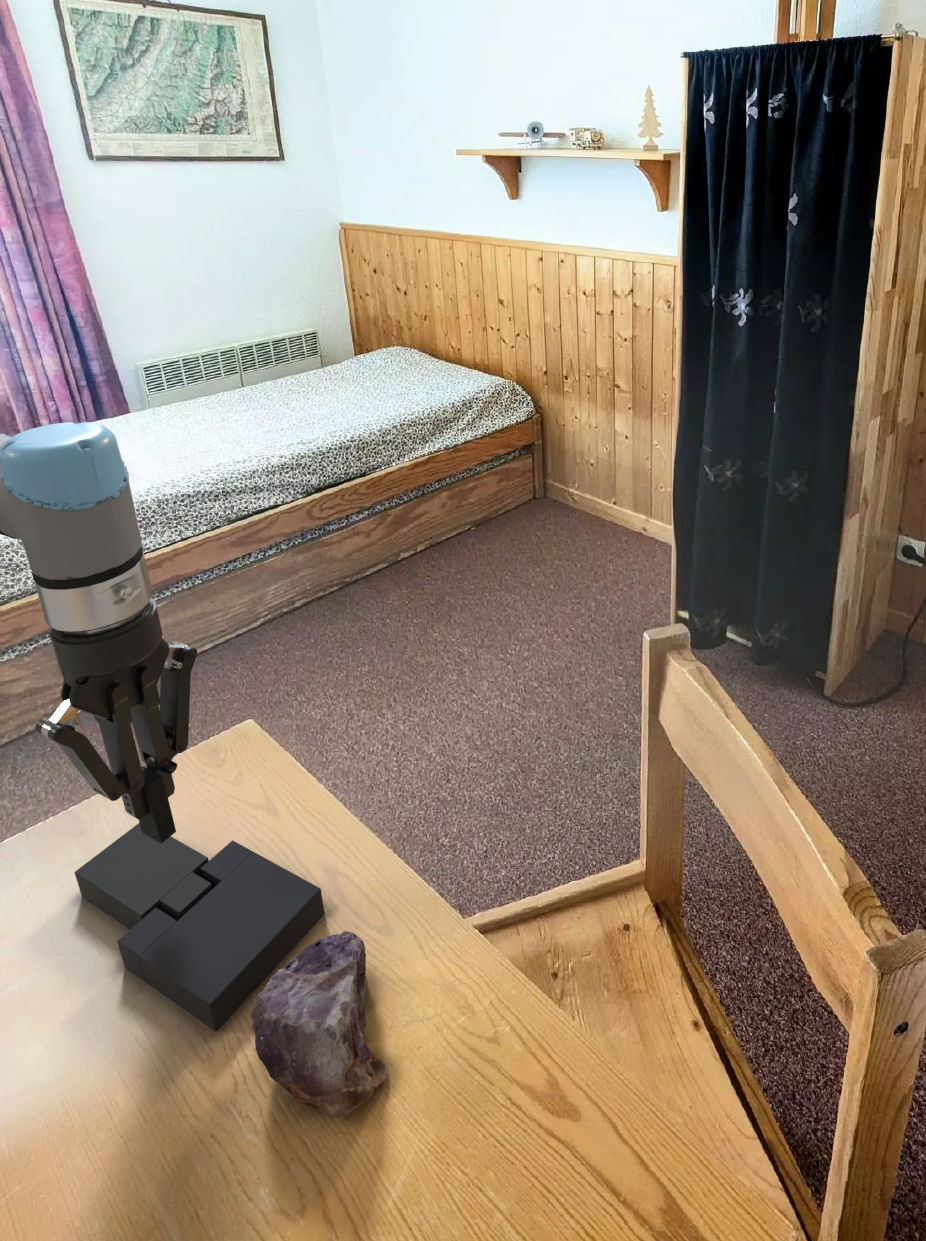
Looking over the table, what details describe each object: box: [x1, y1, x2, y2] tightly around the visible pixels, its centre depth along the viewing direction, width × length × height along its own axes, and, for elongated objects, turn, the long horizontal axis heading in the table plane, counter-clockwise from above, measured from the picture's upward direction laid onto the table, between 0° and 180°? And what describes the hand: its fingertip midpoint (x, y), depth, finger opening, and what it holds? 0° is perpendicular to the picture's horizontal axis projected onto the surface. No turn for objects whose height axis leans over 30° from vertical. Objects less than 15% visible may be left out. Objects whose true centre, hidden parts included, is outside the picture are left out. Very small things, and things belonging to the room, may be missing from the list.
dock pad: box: [116, 839, 326, 1033], centre depth 73 cm, size 12×12×4 cm
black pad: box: [74, 822, 213, 930], centre depth 77 cm, size 13×7×4 cm, turn 63°
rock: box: [250, 930, 389, 1120], centre depth 63 cm, size 12×9×10 cm
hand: (159, 832), depth 73 cm, fingers closed
